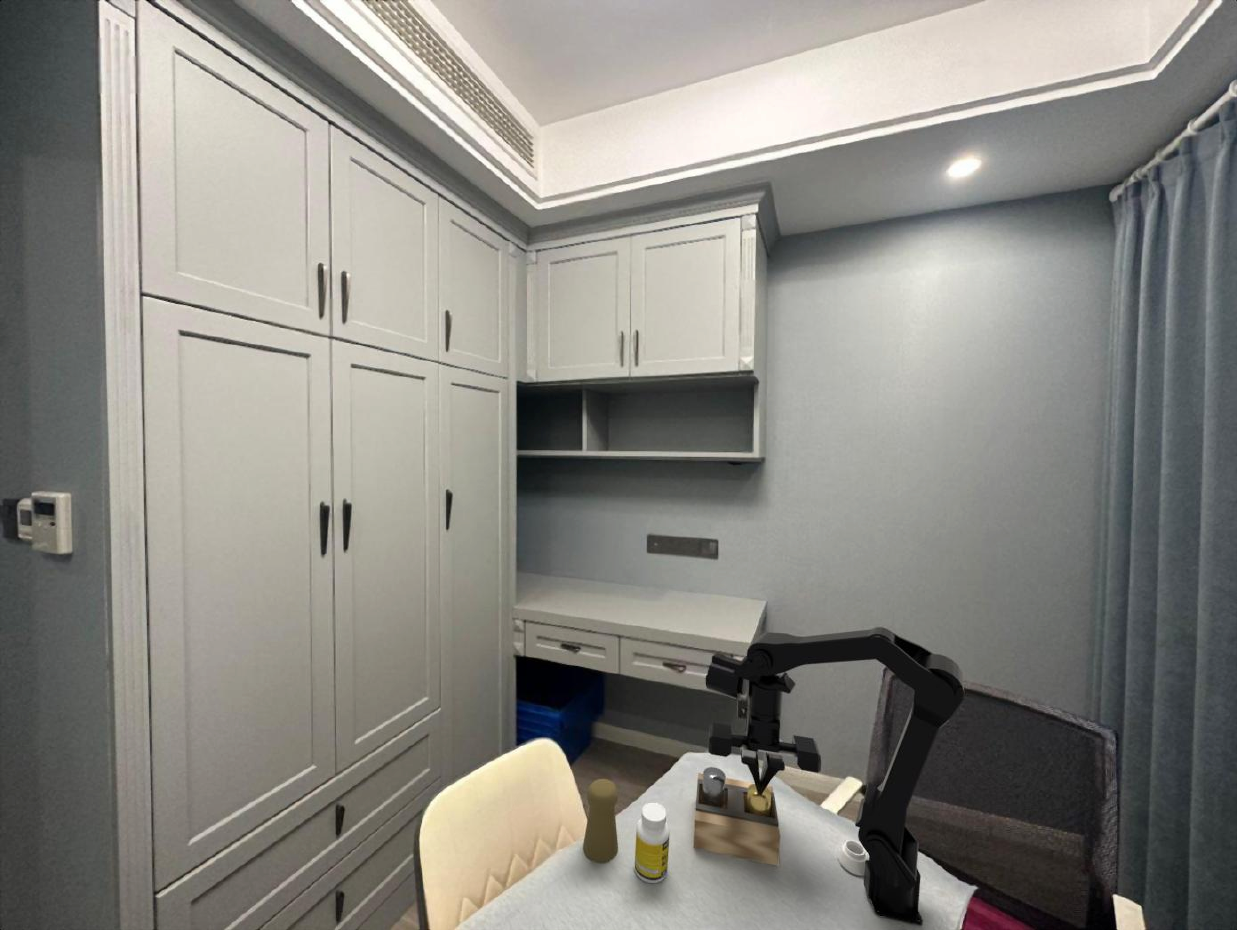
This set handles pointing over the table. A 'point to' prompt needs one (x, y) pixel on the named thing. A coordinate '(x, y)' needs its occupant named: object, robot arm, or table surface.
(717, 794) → the steel plunger
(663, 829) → the supplement bottle
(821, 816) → the table surface
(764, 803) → the brass plunger
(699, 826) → the socket board
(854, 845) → the white jar
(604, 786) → the olive brown pepper mill
